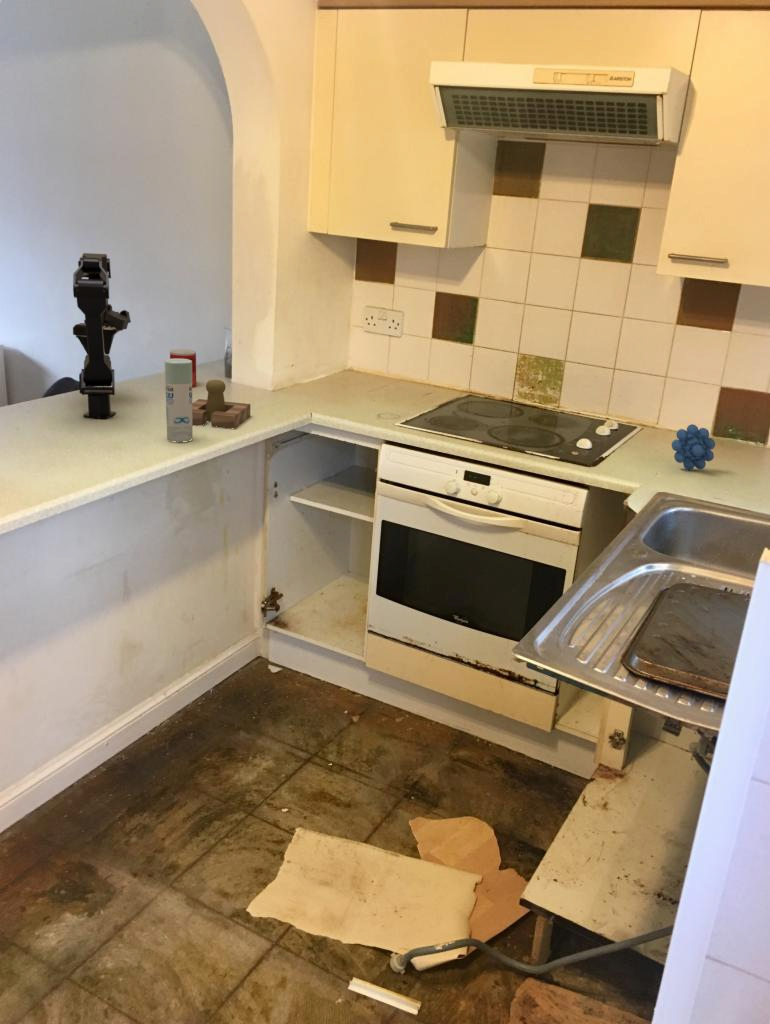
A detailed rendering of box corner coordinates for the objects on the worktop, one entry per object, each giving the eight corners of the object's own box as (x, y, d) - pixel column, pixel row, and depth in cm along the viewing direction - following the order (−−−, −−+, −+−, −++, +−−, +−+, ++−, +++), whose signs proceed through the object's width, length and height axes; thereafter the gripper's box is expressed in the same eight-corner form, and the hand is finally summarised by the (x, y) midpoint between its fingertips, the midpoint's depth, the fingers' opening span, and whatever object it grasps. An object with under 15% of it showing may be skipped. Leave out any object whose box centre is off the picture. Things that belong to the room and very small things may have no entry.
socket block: (234, 429, 232) (234, 416, 231) (180, 423, 234) (179, 410, 233) (250, 416, 246) (250, 404, 245) (199, 410, 248) (199, 398, 247)
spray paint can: (195, 442, 218) (194, 363, 211) (169, 443, 216) (167, 363, 209) (189, 435, 224) (188, 358, 217) (164, 436, 221) (162, 358, 214)
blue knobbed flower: (673, 474, 219) (682, 428, 215) (663, 466, 226) (671, 421, 222) (717, 475, 221) (727, 430, 216) (706, 467, 227) (715, 423, 223)
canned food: (201, 386, 276) (200, 352, 273) (179, 389, 271) (179, 354, 267) (187, 382, 281) (186, 348, 277) (165, 384, 276) (165, 350, 272)
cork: (204, 422, 237) (203, 382, 233) (205, 416, 242) (204, 377, 238) (226, 422, 238) (226, 383, 234) (227, 417, 243) (227, 378, 239)
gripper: (109, 307, 230) (112, 365, 235) (138, 299, 247) (140, 354, 253) (70, 303, 231) (73, 362, 237) (101, 296, 249) (104, 350, 254)
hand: (99, 357), depth 245 cm, fingers open, 9 cm apart
